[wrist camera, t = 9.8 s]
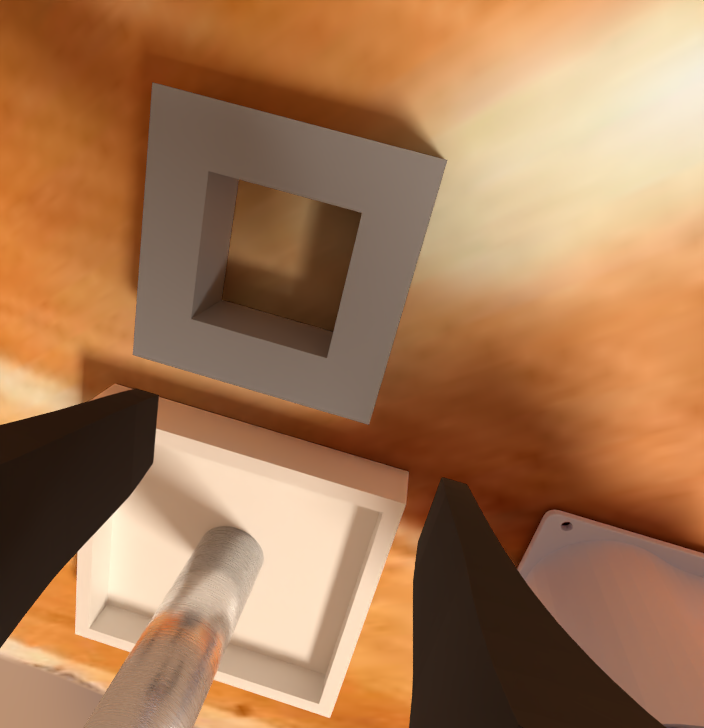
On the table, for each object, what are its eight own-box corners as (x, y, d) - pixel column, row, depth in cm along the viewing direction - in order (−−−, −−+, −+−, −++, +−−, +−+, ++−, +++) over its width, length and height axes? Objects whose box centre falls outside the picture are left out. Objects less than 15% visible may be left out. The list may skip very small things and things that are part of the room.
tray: (409, 471, 24) (406, 504, 22) (338, 675, 30) (329, 718, 27) (114, 383, 25) (81, 405, 22) (102, 598, 31) (75, 633, 28)
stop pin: (268, 538, 26) (177, 745, 16) (257, 586, 27) (166, 803, 18) (204, 517, 26) (77, 712, 17) (196, 567, 27) (74, 772, 18)
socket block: (445, 161, 19) (447, 160, 16) (377, 393, 23) (369, 424, 20) (193, 94, 19) (152, 82, 16) (169, 332, 23) (133, 354, 20)
